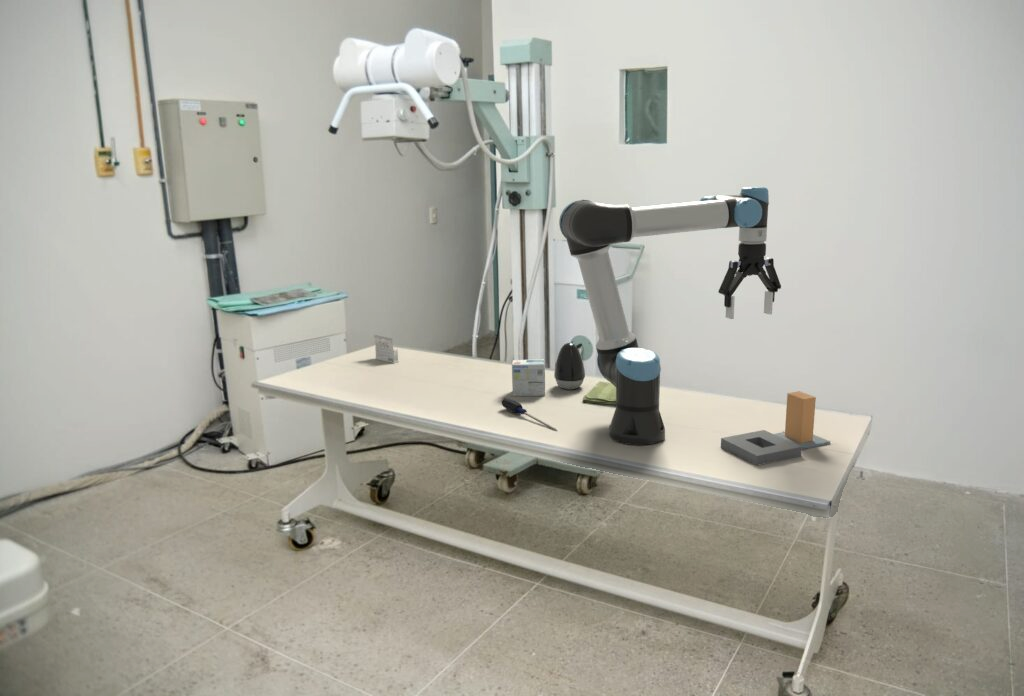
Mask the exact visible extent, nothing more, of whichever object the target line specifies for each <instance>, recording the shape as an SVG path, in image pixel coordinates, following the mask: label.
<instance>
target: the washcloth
mask: <svg viewBox="0 0 1024 696" xmlns="http://www.w3.org/2000/svg"><path fill="white" fill-rule="evenodd" d="M582 402H584V403H588V404H589V403H590V404H600V405H601V404H602V405H615V406H616V387H615V386H614V385H613V384H612V383H610V382H609V381H598V382H597V383H596V384H595V385H594V386H593V387H592V388H591V389H590V390H589V391H588V392H586V393H585V394H584V396H583V397H582Z"/></svg>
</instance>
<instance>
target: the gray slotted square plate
mask: <svg viewBox="0 0 1024 696" xmlns="http://www.w3.org/2000/svg"><path fill="white" fill-rule="evenodd" d="M774 434H775V433H771V432H769V431H768V430H765V429H762V430H757V431H752V432H747V433H741V434H736V435H730V436H724V437H721V438H720V448H721V449H724V450H725V449H726V451H727V450H728V452H730V453H731V452H732V454H734V455H735V456H737V455H738V456H737V457H738V458H741V459H744V460H746V461H748V462H749V461H750V462H749V463H751V464H753V463H754V464H753V465H755V464H756V465H755V466H759V464H761V465H765V464H769V462H770V463H774V462H778V461H784V460H785V461H786V460H788V459H794V458H798V457H801V456H802V449H801V448H802V447H801V446H799V445H796V444H794V443H792V442H790V441H788V440H785V439H783V438H781V437H779V436H776V435H774ZM764 463H765V464H764Z"/></svg>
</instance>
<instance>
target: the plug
mask: <svg viewBox="0 0 1024 696" xmlns="http://www.w3.org/2000/svg"><path fill="white" fill-rule="evenodd" d="M786 397H787V398H786V408H785V409H786V410H785V411H786V412H785V413H786V414H785V424H784V425H785V427H784V432H785V436H786V437H788V438H790V439H793V440H795V441H797V442H799V443H804V442H809V441H813V434H814V427H815V425H814V424H815V414H816V413H815V411H816V401H817V400H816V398H817V397H816V396H813V395H811V394H808V393H806V392H803V391H800V390H799V391H793V392H792V391H791V392H788V393H787V395H786Z"/></svg>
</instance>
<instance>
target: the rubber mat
mask: <svg viewBox="0 0 1024 696" xmlns="http://www.w3.org/2000/svg"><path fill="white" fill-rule="evenodd" d="M773 434H774V435H776V436H779V437H781V438H783V439H785V440H788V441H790V442H792V443H794V444H796V445H799V446H801V447H802V448H801V450H805V449H810V448H815V447H820V446H824V445H825V444H826V445H829V444H831V441H830V440H828V439H825V438H824V437H820V436H818V435H816V434H814V433H813V441H809V442H804V443H799V442H797V441H795V440H793V439H790V438H788V437H786V436H785V431H781V432H777V433H773Z"/></svg>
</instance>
